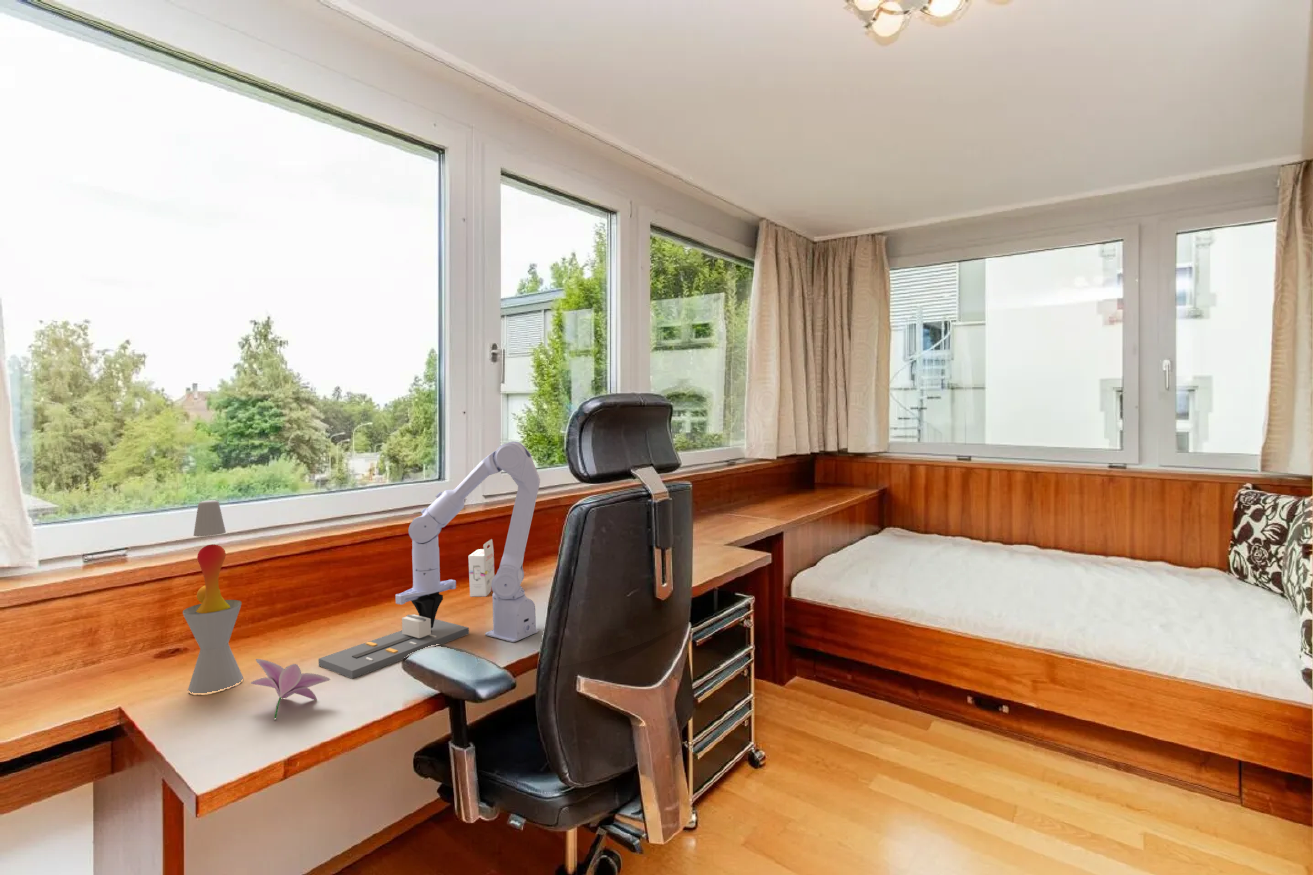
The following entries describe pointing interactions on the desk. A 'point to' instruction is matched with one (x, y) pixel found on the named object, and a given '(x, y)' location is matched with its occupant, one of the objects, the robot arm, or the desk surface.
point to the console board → (388, 650)
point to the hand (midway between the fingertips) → (427, 627)
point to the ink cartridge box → (481, 570)
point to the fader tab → (416, 626)
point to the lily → (288, 680)
